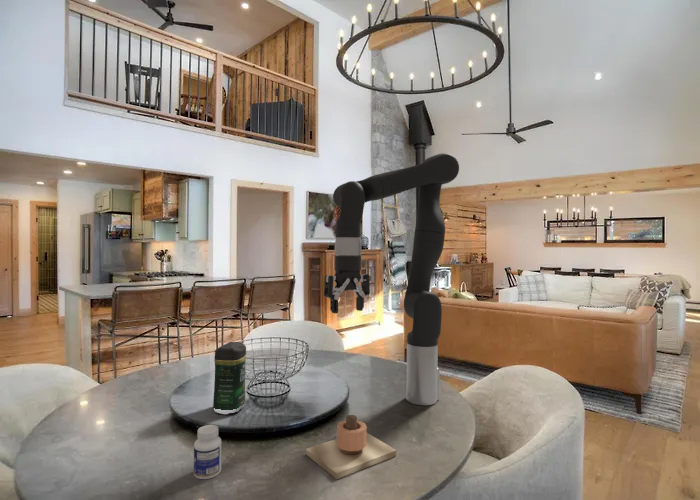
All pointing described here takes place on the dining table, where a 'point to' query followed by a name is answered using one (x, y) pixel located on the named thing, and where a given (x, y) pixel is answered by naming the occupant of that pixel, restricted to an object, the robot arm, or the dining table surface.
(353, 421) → the post
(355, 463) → the base board
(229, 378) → the coffee jar
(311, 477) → the dining table surface
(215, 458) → the pill bottle
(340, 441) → the ring
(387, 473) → the dining table surface
